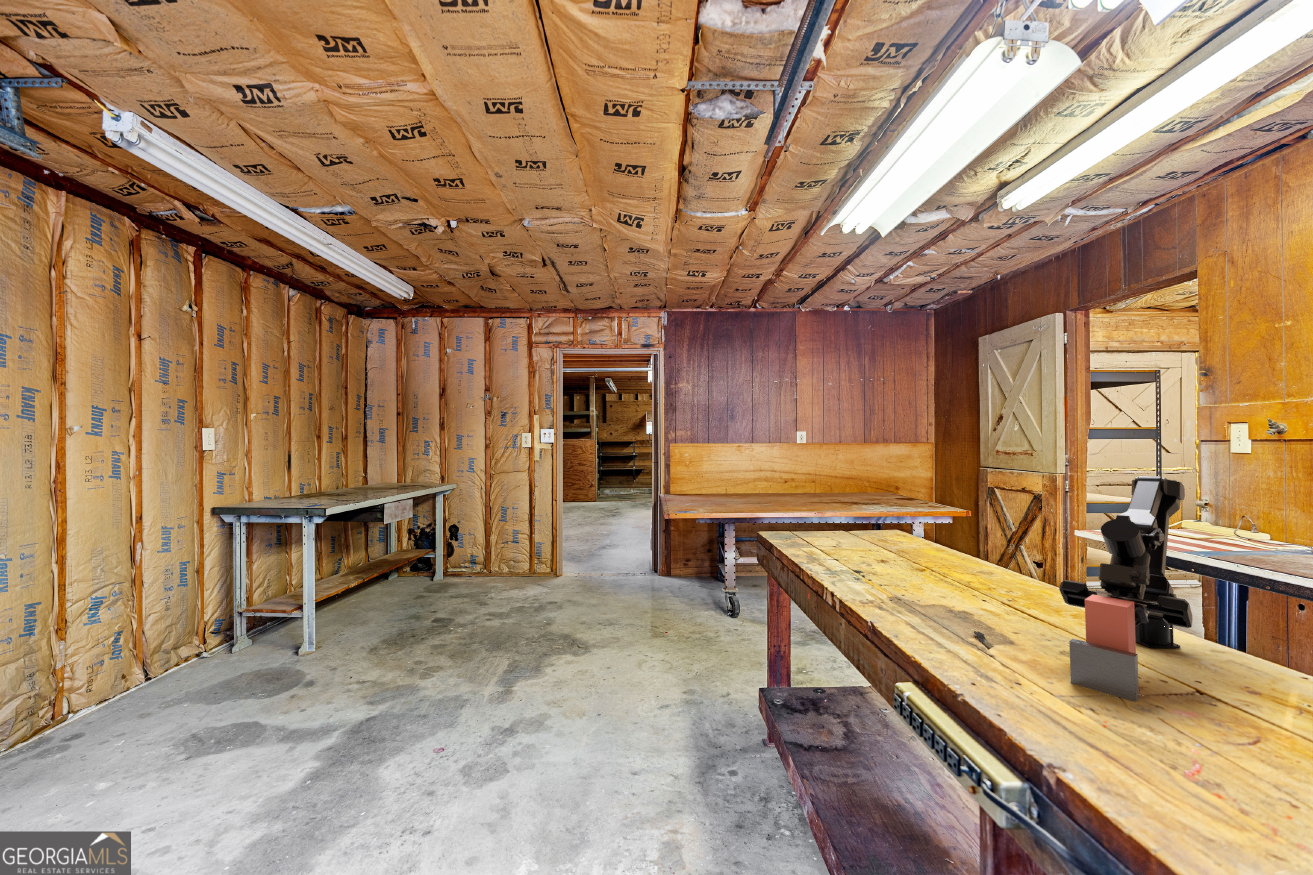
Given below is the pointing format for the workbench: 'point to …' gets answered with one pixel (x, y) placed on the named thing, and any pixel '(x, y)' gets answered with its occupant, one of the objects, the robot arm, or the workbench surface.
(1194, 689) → the workbench surface
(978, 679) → the workbench surface
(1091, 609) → the red block on plate
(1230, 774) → the workbench surface
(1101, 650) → the plate
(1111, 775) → the workbench surface
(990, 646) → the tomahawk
